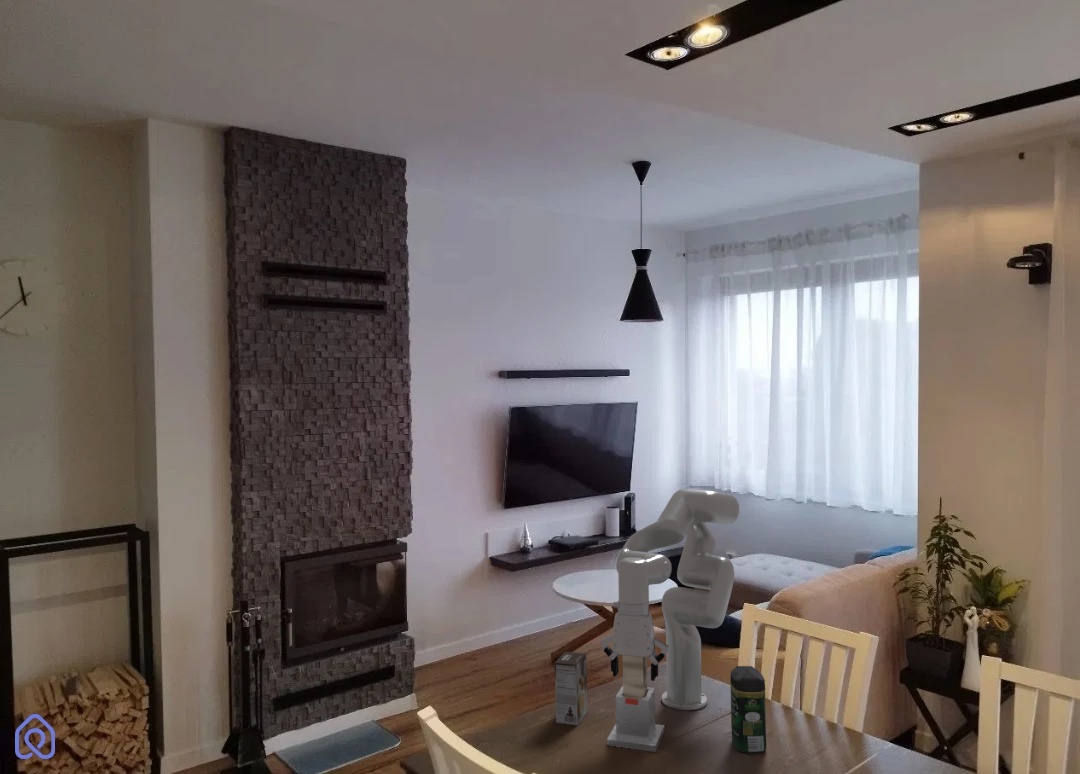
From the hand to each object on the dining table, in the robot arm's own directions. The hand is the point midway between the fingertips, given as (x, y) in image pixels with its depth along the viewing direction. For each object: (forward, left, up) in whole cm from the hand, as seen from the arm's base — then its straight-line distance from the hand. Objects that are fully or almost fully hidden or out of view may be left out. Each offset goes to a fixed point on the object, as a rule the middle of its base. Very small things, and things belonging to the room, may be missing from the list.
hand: (634, 676), depth 194 cm
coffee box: (-7, -19, -16) cm, 26 cm away
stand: (0, 0, -16) cm, 16 cm away
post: (0, 0, -14) cm, 14 cm away
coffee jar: (-4, +27, -16) cm, 32 cm away
